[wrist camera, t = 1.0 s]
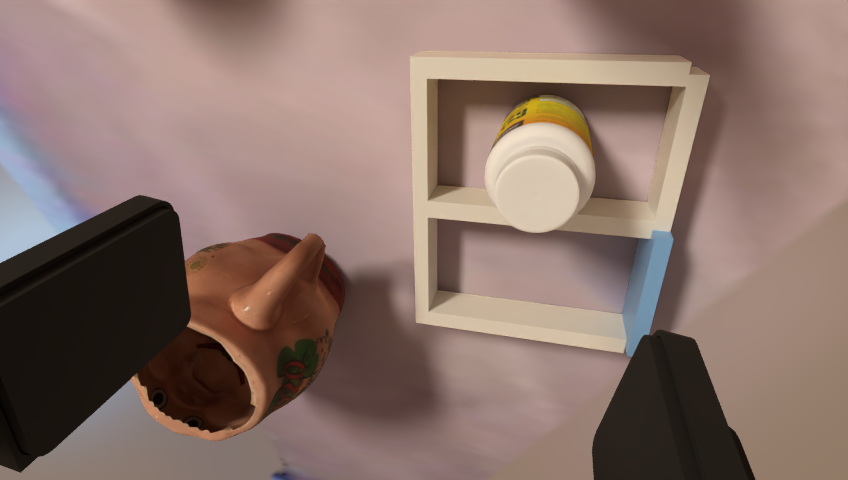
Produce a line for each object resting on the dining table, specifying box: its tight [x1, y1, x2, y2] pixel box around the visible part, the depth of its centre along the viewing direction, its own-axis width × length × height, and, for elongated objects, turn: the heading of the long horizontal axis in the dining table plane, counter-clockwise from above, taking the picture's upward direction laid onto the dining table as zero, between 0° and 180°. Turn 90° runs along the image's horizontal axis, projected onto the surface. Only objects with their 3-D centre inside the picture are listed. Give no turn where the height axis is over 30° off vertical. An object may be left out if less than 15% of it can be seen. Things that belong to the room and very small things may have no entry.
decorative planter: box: [130, 233, 345, 441], centre depth 35 cm, size 20×12×14 cm, turn 147°
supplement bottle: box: [485, 95, 596, 233], centre depth 27 cm, size 6×6×10 cm
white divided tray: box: [410, 51, 710, 357], centre depth 31 cm, size 16×19×4 cm
